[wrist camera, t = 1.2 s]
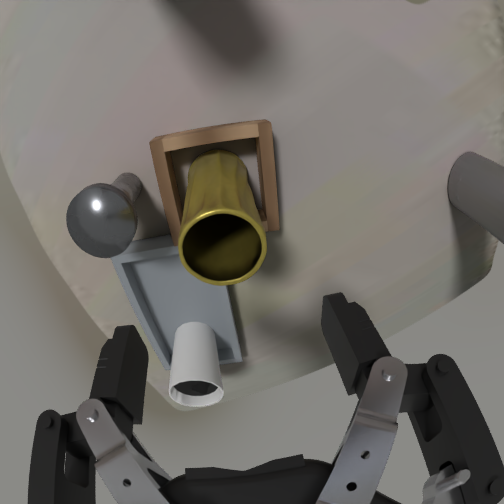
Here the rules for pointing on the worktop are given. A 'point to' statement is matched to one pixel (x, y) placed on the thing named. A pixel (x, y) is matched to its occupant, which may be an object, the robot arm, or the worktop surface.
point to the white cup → (195, 366)
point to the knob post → (105, 216)
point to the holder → (212, 135)
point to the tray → (174, 298)
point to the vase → (220, 222)
